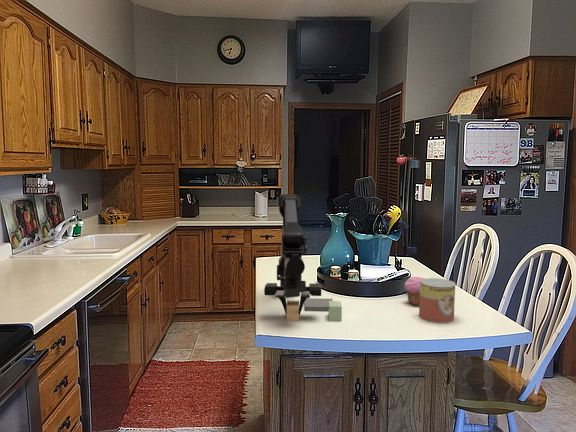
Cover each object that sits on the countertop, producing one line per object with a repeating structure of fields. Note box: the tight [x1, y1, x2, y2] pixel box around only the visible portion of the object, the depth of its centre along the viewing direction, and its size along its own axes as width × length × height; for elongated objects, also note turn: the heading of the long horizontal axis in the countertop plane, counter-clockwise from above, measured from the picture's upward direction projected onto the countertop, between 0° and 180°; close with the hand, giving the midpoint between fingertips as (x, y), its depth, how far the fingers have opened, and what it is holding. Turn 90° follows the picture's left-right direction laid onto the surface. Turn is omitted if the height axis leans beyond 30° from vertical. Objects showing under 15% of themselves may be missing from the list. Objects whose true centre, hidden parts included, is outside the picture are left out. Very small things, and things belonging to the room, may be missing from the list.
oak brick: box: [286, 299, 300, 322], centre depth 155 cm, size 6×4×5 cm, turn 178°
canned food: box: [418, 277, 456, 324], centre depth 155 cm, size 11×11×12 cm
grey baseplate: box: [304, 297, 334, 312], centre depth 167 cm, size 10×10×2 cm
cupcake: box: [404, 276, 426, 306], centre depth 170 cm, size 9×9×10 cm
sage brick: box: [328, 300, 343, 322], centre depth 155 cm, size 6×4×5 cm, turn 178°
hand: (292, 314), depth 156 cm, fingers closed on oak brick, 4 cm apart
